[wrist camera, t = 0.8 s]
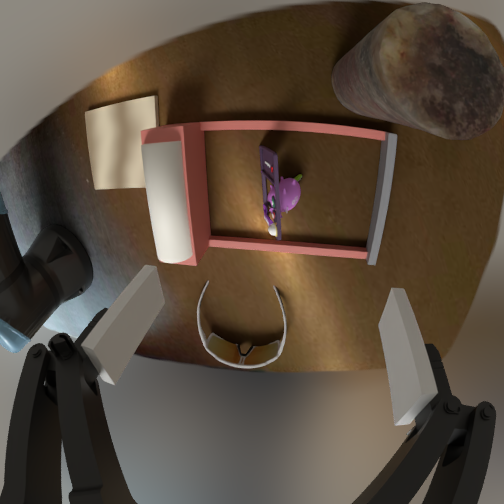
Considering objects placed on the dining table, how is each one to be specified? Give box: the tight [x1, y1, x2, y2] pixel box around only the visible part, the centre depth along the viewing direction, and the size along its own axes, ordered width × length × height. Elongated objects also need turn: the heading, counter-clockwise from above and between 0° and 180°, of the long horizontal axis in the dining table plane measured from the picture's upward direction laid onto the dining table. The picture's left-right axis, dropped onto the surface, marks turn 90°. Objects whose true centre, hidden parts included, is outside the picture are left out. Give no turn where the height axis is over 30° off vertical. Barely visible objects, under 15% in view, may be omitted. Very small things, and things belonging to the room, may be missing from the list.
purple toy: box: [259, 145, 302, 240], centre depth 29 cm, size 7×5×9 cm
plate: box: [85, 96, 159, 190], centre depth 32 cm, size 12×12×1 cm
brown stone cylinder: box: [331, 2, 504, 140], centre depth 15 cm, size 8×7×20 cm
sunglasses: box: [197, 280, 286, 368], centre depth 43 cm, size 14×15×5 cm
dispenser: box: [141, 120, 397, 266], centre depth 28 cm, size 26×16×8 cm, turn 91°
